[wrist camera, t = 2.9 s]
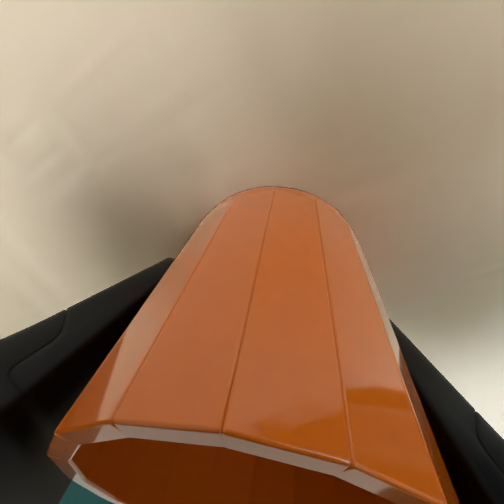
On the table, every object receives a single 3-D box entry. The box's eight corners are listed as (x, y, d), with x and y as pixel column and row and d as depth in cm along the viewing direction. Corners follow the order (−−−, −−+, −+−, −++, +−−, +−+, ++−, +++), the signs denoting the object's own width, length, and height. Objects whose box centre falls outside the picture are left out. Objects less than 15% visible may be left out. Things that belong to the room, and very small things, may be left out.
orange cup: (324, 332, 12) (350, 575, 6) (192, 301, 12) (92, 506, 6) (393, 210, 8) (638, 539, 2) (199, 166, 8) (-40, 365, 2)
